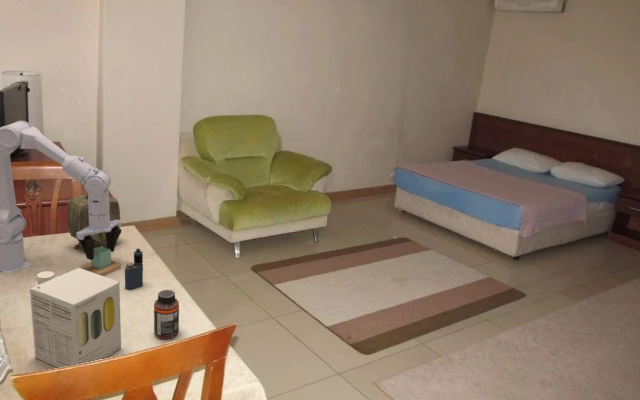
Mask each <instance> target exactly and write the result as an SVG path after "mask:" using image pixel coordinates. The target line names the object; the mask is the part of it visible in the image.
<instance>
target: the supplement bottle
mask: <svg viewBox="0 0 640 400" xmlns="http://www.w3.org/2000/svg"><path fill="white" fill-rule="evenodd" d="M179 319H180V303H179V300H178V298H176V292H175V291H174V290H173V289H172V290H171V289H163V290H161V291H159V292H158V293H157V299H156V300H155V301H154V303H153V326H154V327H153V334H154V335H155V337H156V338H159V339H162V340H170V339H172V338H174V337H176V336H177V335H178V334H179V332H180V330H179V329H180V320H179Z"/></svg>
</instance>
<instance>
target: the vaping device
mask: <svg viewBox="0 0 640 400" xmlns="http://www.w3.org/2000/svg"><path fill="white" fill-rule="evenodd" d="M143 257H144V254H143V251H141V249H140V248H136V249H135V251H134V252H133V262H126V265H125V268H124V289H125V290H126V291H131V290H135V289H139V288H142V287H143V286H144V285H143V283H144V281H143V280H144V279H143V278H144V274H143V273H144V264H143V263H144V262H143V261H144V259H143Z"/></svg>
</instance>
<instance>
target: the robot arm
mask: <svg viewBox="0 0 640 400" xmlns="http://www.w3.org/2000/svg"><path fill="white" fill-rule="evenodd" d="M19 147H20V149H23V150H25V149H28V150H29V149H31V150H32V149H35V150H36V151H38V152H41V154H43V155H45V156H47V157H48V158H50V159H51V160H53V161H55V162H56V163H58V164H59V165H61V168H62V172H64V173H66V175H68V176H70V177H71V178H72V179H74V180H75V181H77V182H78V183H80V184H82V185H83V187H84V190H85V192H86V193H87V192H88V210H89V226H88V227H86V228H84V229H83V230H81V231H79V232H76V234H77V239H76V240H77V241H78V243H79V242H80V245H81V247H82V249H83V251H84V253H85V257H86V259H87V260H89V261H91V260H93V258H94V249H95V243H97V242H96V240H94V239H92V237H91V236H92V235H95V234H98V233H101V232H105V235H106V241H105V242H106V248H108V249H111V253H113V252H115V248H116V244H117V242H118V239H119V237H120V235H121V234H122V228H121V227H122V221H121V219H120V220H113V221H110V213H109V196H110V195H109V194H110V191H109V187H110V186H111V183H112V177H111V176H110V174H109V173H108V172H107V171H105V170H101V169H100V170H99V168H97V167H93V166H92V165H91V164H90V163H88V162H86V161H85V158H84V157H82V155H81V156H78V155H69V154H68V153H67V152H65V150H63V149H62V148H61V147H59V146H58V145H57V144H55V143H54V142H53V141H51V139H50V138H47V137H46V136H45V135H44V134H43V133H42V132H41V131H40V130H39V129H38V128H37V127H35V126H32V125H31V124H30V123H29V122H27V121H26V120H17V121H15V122H13V123H10V124H8V125H3V126H1V127H0V272H1V273H6V274H8V273H11V272H14V271H18V270H20V269H23V268H25V267H28V266H32V263H30V262H28V261H26V260H25V259H26V257H25V248H24V247H25V246H24V235H23V231H24V230H25V228H26V226H27V221H26V219H25V218H24V216H23V215H22V210H21V209H20V208H19V207H18V206H17V200H16V194H15V187H14V178H13V170H12V162H11V154H12V153H14V151H16V150H17V148H19ZM118 227H120V229H119V228H118Z"/></svg>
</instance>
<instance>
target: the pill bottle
mask: <svg viewBox="0 0 640 400" xmlns="http://www.w3.org/2000/svg"><path fill="white" fill-rule="evenodd" d="M53 278H55V272H53V271H45V270H44V271H41V272H39V273H37V275H36V280H37V281H36V282H35V283H34V287H35V286H37V285H39V284H42V283H44V282H47V281H49V280H51V279H53Z"/></svg>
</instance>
